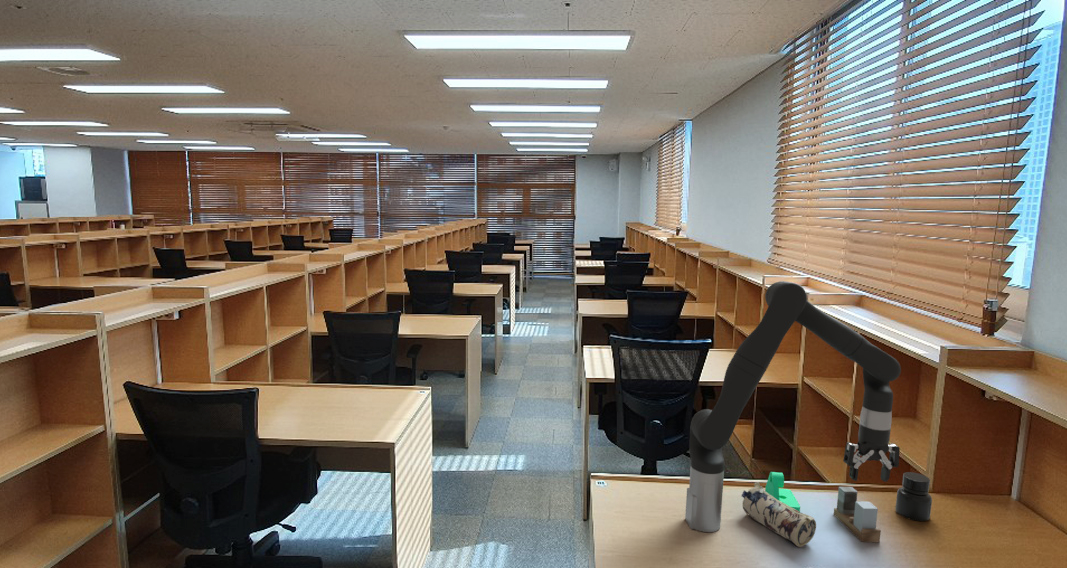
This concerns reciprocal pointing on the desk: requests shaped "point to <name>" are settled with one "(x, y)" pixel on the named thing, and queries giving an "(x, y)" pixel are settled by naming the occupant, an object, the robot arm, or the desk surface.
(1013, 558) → the desk surface
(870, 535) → the rail
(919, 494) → the ink bottle
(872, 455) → the robot arm
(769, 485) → the camera mount
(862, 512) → the finger block
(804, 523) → the pencil case
